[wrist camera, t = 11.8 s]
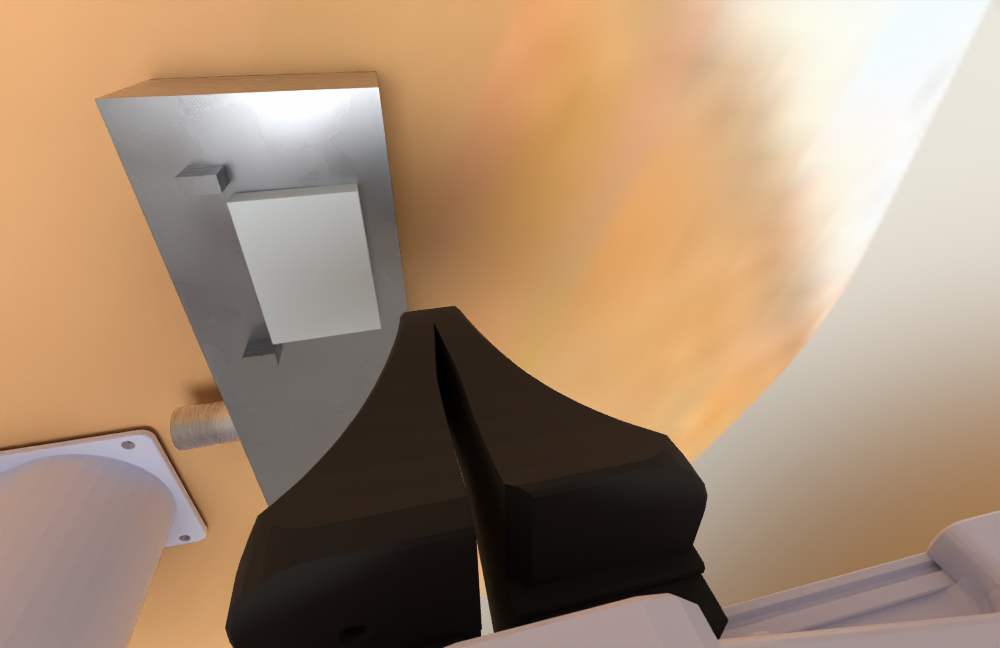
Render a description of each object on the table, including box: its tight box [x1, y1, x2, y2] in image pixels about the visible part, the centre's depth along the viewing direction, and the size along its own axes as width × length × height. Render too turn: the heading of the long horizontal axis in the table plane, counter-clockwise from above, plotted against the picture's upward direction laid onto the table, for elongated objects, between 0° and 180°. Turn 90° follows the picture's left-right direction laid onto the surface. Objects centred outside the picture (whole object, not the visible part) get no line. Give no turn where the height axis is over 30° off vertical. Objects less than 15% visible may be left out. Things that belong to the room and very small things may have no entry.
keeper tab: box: [227, 183, 381, 344], centre depth 15 cm, size 1×5×4 cm
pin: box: [170, 401, 240, 450], centre depth 22 cm, size 11×3×3 cm, turn 91°
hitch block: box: [95, 71, 408, 506], centre depth 19 cm, size 7×18×5 cm, turn 1°
